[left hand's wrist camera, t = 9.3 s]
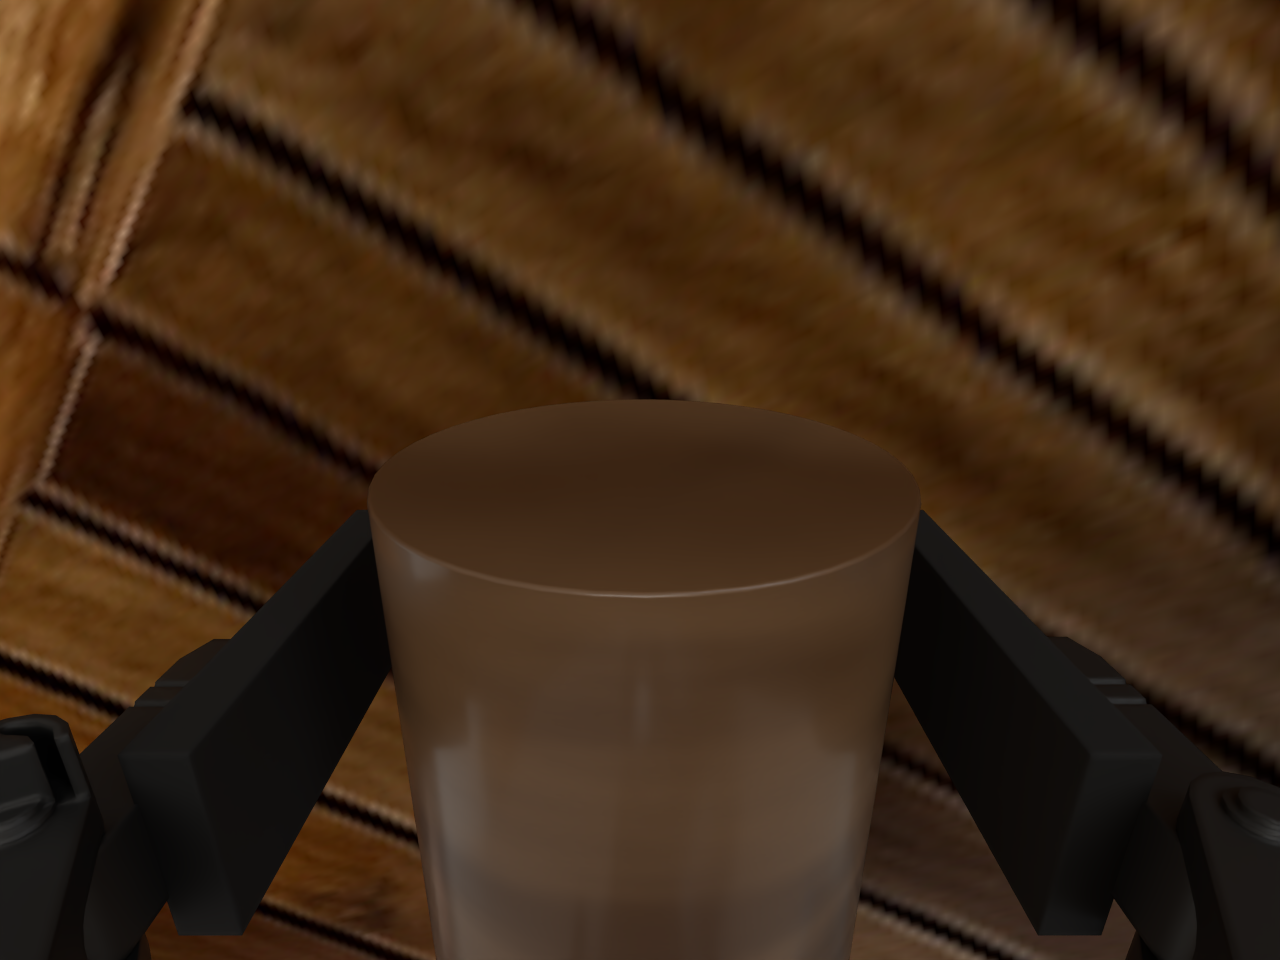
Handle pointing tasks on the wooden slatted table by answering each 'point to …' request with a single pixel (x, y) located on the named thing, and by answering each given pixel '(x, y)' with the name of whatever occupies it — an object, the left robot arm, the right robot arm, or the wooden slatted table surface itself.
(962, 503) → the wooden slatted table surface
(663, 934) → the rod
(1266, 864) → the left robot arm
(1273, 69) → the wooden slatted table surface
